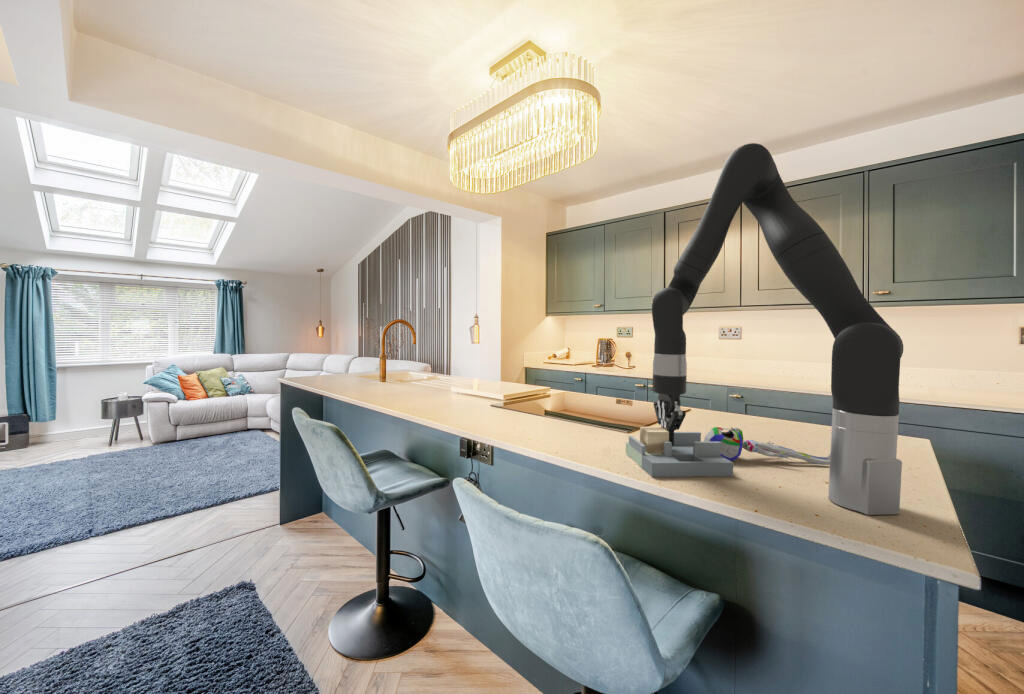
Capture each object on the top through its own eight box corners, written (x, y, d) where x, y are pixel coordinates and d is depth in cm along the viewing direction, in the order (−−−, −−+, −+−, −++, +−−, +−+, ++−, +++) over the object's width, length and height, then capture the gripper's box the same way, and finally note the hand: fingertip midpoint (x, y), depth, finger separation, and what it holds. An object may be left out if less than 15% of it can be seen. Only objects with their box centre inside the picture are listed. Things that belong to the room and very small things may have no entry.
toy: (855, 453, 94) (715, 427, 99) (847, 489, 95) (708, 461, 99) (829, 441, 104) (703, 418, 109) (822, 474, 105) (697, 449, 109)
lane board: (732, 476, 91) (733, 448, 91) (651, 476, 90) (652, 449, 90) (694, 453, 108) (695, 429, 108) (625, 453, 107) (626, 430, 107)
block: (668, 453, 97) (669, 431, 97) (647, 453, 97) (647, 431, 97) (659, 447, 102) (660, 426, 102) (639, 447, 102) (640, 426, 102)
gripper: (698, 376, 93) (697, 453, 94) (672, 370, 106) (671, 437, 107) (665, 376, 93) (664, 453, 93) (643, 370, 106) (642, 438, 107)
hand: (667, 445), depth 100 cm, fingers closed
